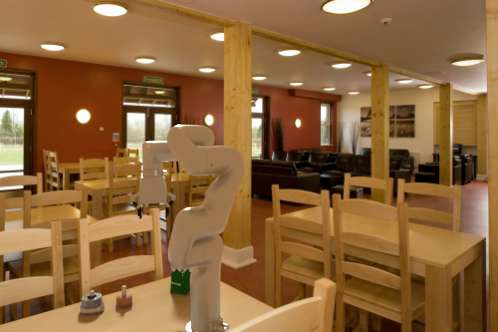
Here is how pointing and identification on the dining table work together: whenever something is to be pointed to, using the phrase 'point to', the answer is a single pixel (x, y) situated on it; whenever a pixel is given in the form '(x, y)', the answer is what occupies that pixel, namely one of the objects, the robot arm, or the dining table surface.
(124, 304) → the stand
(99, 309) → the hub
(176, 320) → the dining table surface
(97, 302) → the grey short cylinder
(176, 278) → the milk carton
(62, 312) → the dining table surface
